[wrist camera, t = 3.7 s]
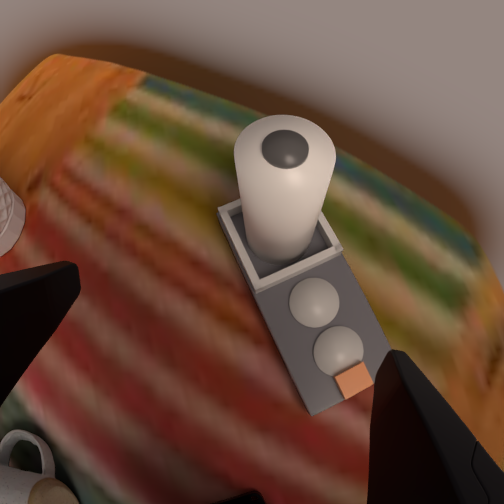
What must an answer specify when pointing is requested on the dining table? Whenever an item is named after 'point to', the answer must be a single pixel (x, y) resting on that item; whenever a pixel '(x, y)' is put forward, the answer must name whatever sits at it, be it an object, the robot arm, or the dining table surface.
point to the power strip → (313, 314)
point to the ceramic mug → (30, 476)
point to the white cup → (10, 217)
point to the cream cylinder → (282, 184)
